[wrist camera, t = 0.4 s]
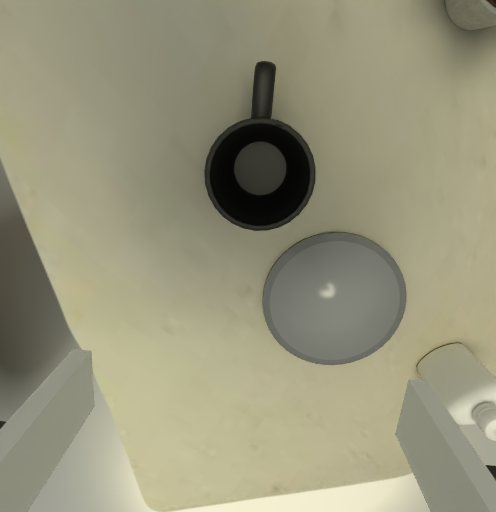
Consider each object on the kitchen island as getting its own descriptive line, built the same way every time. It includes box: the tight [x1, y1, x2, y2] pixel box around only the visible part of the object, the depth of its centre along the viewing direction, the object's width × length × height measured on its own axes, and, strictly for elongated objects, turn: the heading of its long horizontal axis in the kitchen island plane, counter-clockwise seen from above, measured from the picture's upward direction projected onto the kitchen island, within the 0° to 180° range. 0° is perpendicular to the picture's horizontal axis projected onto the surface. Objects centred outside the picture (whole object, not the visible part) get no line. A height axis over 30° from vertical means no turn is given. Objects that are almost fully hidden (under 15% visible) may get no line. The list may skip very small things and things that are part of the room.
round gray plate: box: [263, 232, 406, 365], centre depth 39 cm, size 15×15×1 cm
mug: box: [205, 61, 315, 231], centre depth 31 cm, size 8×12×10 cm
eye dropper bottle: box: [417, 343, 496, 441], centre depth 36 cm, size 4×6×12 cm
